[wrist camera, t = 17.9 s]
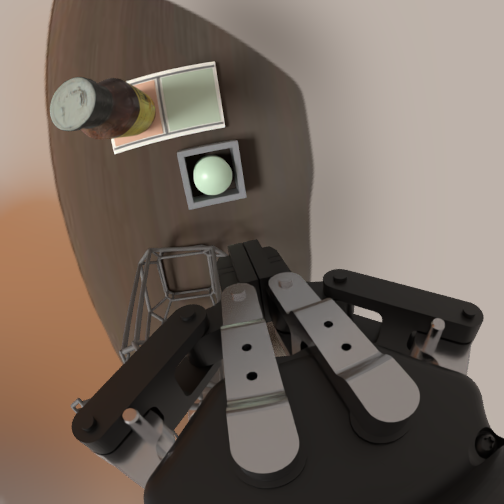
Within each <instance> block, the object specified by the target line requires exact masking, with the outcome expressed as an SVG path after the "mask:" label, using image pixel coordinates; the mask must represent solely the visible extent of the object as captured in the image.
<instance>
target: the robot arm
mask: <svg viewBox="0 0 504 504" xmlns="http://www.w3.org/2000/svg"><path fill="white" fill-rule="evenodd" d="M228 252H229V256H225V257H220V258H219V259H218V261H217V263H216V265H217V270H218V275H219V280H220V284H221V289H222V293H221V300H220V301H219V302H218V303H217V304H216V305H214V306H212V307H211V308H208V309H206V310H205V309H204V308H203V307H202V306H200V305H194V304H193V305H186V306H183V307H181V308H179V309H178V310H176V311H175V312H174V313H173V314H172V315H171V316H170V317H169V318H168V319H167V320H166V321H165V322H164V323H163V324H162V325H161V326H160V327H159V328H158V329H157V330H156V331H155V332H154V333H153V334H152V336H151V337H150V338H149V339H148V340H147V341H146V342H145V343H144V344H143V345H142V346H141V347H140V348H139V349H138V350H137V351H136V352H135V353H134V354H133V355H132V356H131V357H130V358H129V359H128V360H127V361H126V362H125V363H124V364H123V365H122V366H121V368H120V369H119V370H118V371H117V372H116V373H115V374H114V375H113V376H112V377H111V378H110V379H109V380H108V381H107V382H106V383H105V384H104V385H103V386H102V387H101V388H100V390H99V391H98V392H97V393H96V394H95V395H94V396H93V397H92V398H91V399H90V400H89V401H88V402H87V403H86V404H85V405H84V406H83V407H82V408H81V409H80V411H79V412H78V413H77V414H76V415H75V417H74V419H73V422H72V432H73V434H74V436H75V437H76V439H78V440H79V441H80V442H81V443H83V444H84V445H85V446H87V447H88V448H89V449H90V450H91V451H92V452H93V453H95V454H96V455H98V456H99V457H101V458H102V459H104V460H105V461H107V462H108V463H110V464H111V465H113V466H115V467H117V468H118V469H119V470H120V471H121V472H123V473H124V474H125V475H126V476H128V477H129V478H130V479H132V480H133V481H134V482H135V483H137V484H138V485H140V486H141V487H142V488H144V489H145V490H144V504H504V438H501V437H499V436H498V435H496V434H495V433H494V432H493V430H492V429H491V428H490V425H489V423H488V420H487V418H486V414H485V410H484V406H483V400H482V395H481V393H480V390H479V388H478V386H477V385H476V384H475V382H473V380H472V379H471V378H469V377H468V376H467V370H468V364H469V357H470V348H471V344H472V342H473V340H474V338H475V336H476V334H477V332H478V330H479V328H480V326H481V324H482V322H483V313H482V311H481V310H480V309H479V308H478V307H477V306H476V305H474V304H472V303H469V302H465V301H462V300H459V299H455V298H451V297H447V296H444V295H440V294H436V293H432V292H429V291H424V290H421V289H417V288H413V287H410V286H406V285H402V284H398V283H394V282H390V281H387V280H383V279H379V278H375V277H371V276H367V275H364V274H360V273H356V272H352V271H348V270H342V269H336V270H331V271H329V272H327V273H326V274H325V275H324V277H323V281H322V282H305V281H304V280H303V278H302V277H301V276H300V275H298V274H296V273H292V272H291V271H290V270H289V268H288V267H287V265H286V264H285V262H284V261H283V259H282V258H281V256H280V255H279V253H278V252H277V250H275V249H274V248H272V247H270V246H269V247H264V248H262V247H261V245H260V244H259V242H258V240H257V239H256V240H252V241H247V242H243V244H242V243H238V244H234V245H230V246H228ZM354 305H355V306H358V307H362V308H365V309H368V310H371V311H375V312H377V313H379V314H380V315H381V316H382V322H378V321H375V320H371V319H368V318H365V317H362V316H359V315H355V314H353V313H354ZM264 318H265V319H264ZM265 321H266V322H265ZM271 321H272V322H273V324H274V331H275V335H276V337H277V339H278V341H279V342H280V344H281V346H282V348H283V350H284V352H285V353H286V355H287V356H282V357H275V355H274V351H273V347H272V344H271V340H270V336H269V333H268V329H267V325H266V323H267V322H271ZM184 357H185V358H184ZM180 362H181V363H180ZM179 363H180V364H179ZM221 364H222V368H223V379H222V380H221V381H219V368H220V366H221ZM176 367H177V368H176ZM210 381H213V382H215V383H217V384H216V385H214V386H213V387H212V389H211V388H209V387H206V386H207V385H208V383H209V382H210ZM201 393H202V394H203V401H202V402H201V404H200V405H199V407H198V408H197V410H189V409H190V408H191V407H192V405H193V404H194V403H199V401H200V400H199V399H198V397H199V396H200V394H201ZM187 412H188V416H189V422H188V423H187V425H186V426H185V428H184V429H183V431H182V432H181V434H180V435H179V436H178V438H177V439H176V441H175V437H174V434H173V431H174V429H175V428H176V427H177V425H178V424H179V423H180V421H181V420H182V418H183V417H184V416H185V415H186V413H187Z"/></svg>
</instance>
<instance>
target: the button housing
mask: <svg viewBox="0 0 504 504" xmlns="http://www.w3.org/2000/svg"><path fill="white" fill-rule="evenodd" d="M226 148H230V153H231V159H232V165H233V171H234V177H235V184H236V188H234V189H229V190H225V191H224V192H222V193H220V194H217V195H207V194H205V195H201V196H196V197H193V193H192V188H191V184H190V179H189V174H188V169H187V164H186V159H185V157H187V156H191V155H196V154H201V153H206V152H211V151H216V150H221V149H226ZM177 156H178V161H179V166H180V171H181V176H182V180H183V185H184V190H185V194H186V199H187V203H188V207H189V210H191V209H195V208H200V207H204V206H209V205H213V204H218V203H222V202H227V201H232V200H237V199H242V198H246V191H245V185H244V178H243V172H242V165H241V159H240V153H239V146H238V141H237V140H228V141H223V142H217V143H212V144H207V145H202V146H197V147H192V148H188V149H183V150H179V151H178V152H177Z"/></svg>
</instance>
